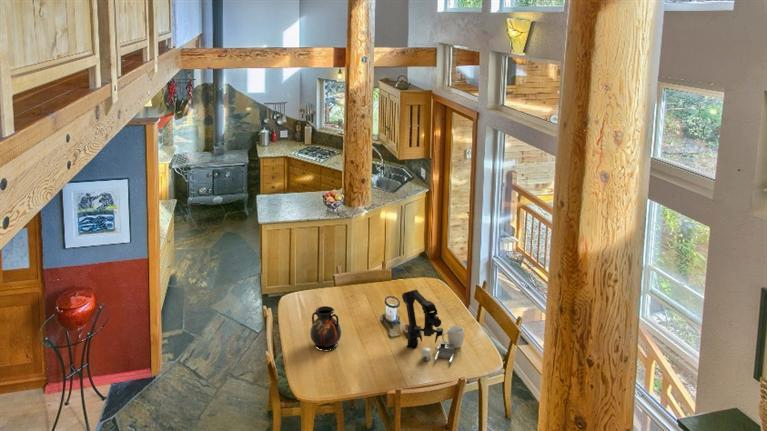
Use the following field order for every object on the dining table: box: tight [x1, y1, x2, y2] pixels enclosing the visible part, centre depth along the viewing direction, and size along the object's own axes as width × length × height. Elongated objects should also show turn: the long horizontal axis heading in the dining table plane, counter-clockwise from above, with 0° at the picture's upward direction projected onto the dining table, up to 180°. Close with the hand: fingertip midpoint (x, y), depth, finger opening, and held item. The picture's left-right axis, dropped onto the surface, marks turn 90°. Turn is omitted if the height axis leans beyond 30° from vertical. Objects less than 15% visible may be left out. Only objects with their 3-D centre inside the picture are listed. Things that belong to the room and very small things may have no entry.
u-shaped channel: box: [434, 341, 456, 366], centre depth 435 cm, size 14×17×8 cm
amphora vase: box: [309, 305, 342, 351], centre depth 449 cm, size 22×22×28 cm
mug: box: [441, 325, 465, 349], centre depth 450 cm, size 15×11×13 cm
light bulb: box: [421, 347, 432, 362], centre depth 433 cm, size 6×8×7 cm
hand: (428, 342), depth 432 cm, fingers open, 9 cm apart
